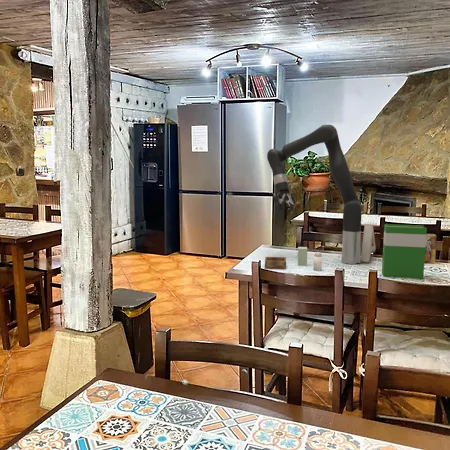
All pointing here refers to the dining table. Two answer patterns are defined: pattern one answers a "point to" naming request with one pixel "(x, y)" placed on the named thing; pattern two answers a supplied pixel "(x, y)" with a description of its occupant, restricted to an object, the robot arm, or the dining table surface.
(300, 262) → the sage block
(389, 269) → the hardback book
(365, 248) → the wall bracket
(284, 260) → the walnut caddy
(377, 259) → the dining table surface
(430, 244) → the candy box
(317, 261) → the salt shaker
